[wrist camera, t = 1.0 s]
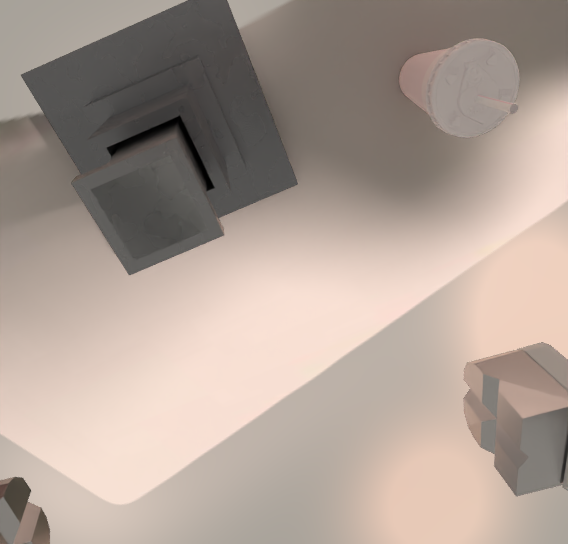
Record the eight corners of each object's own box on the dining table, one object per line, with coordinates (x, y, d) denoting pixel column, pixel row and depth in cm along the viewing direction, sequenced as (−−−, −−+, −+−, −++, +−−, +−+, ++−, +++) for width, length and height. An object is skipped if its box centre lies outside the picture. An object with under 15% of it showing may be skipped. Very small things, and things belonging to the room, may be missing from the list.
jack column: (186, 89, 38) (176, 137, 22) (215, 151, 40) (224, 235, 24) (125, 116, 38) (71, 183, 22) (157, 176, 40) (129, 275, 25)
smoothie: (395, 128, 43) (472, 169, 31) (374, 55, 40) (450, 69, 28) (462, 97, 43) (568, 127, 31) (446, 21, 40) (556, 20, 28)
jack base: (220, -13, 36) (228, -29, 26) (295, 179, 44) (325, 229, 33) (27, 73, 37) (-44, 93, 26) (133, 248, 45) (111, 319, 34)
